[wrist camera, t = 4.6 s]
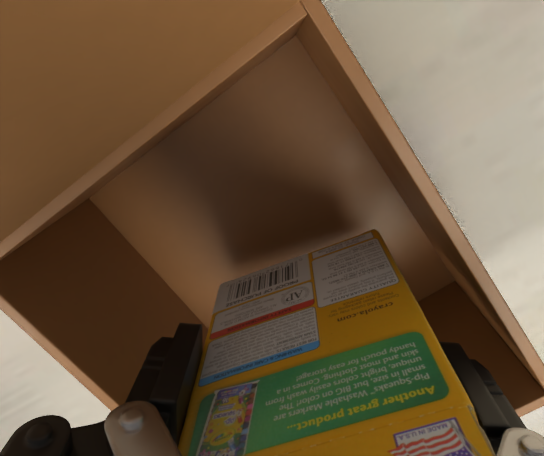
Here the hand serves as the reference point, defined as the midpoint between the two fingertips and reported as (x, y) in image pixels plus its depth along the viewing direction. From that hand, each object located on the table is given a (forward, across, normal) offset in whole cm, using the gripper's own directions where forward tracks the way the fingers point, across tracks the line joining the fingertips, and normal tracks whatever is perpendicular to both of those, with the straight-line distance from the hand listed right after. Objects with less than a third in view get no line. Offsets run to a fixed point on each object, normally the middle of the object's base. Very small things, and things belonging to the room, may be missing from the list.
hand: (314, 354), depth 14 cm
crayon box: (+5, 0, 0) cm, 5 cm away
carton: (+8, +1, -1) cm, 8 cm away
